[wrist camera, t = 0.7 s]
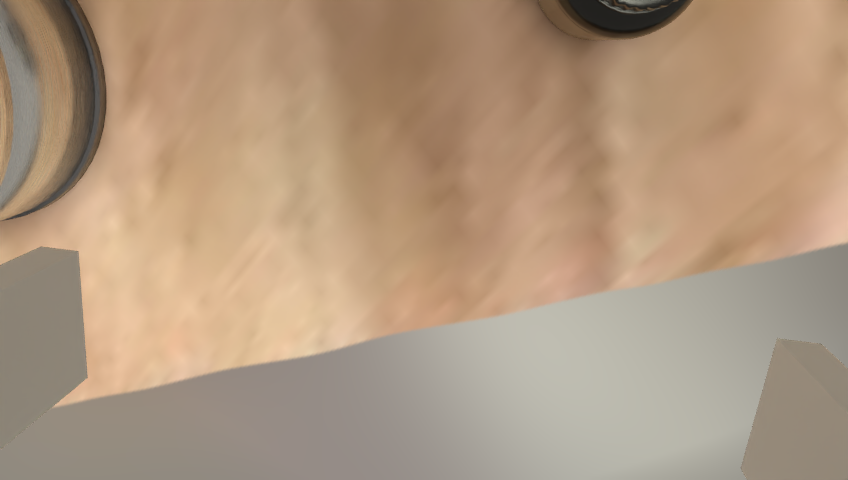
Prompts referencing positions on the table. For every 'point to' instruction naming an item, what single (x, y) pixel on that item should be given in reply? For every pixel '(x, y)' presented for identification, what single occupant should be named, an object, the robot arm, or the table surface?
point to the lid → (5, 118)
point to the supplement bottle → (612, 17)
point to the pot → (49, 101)
